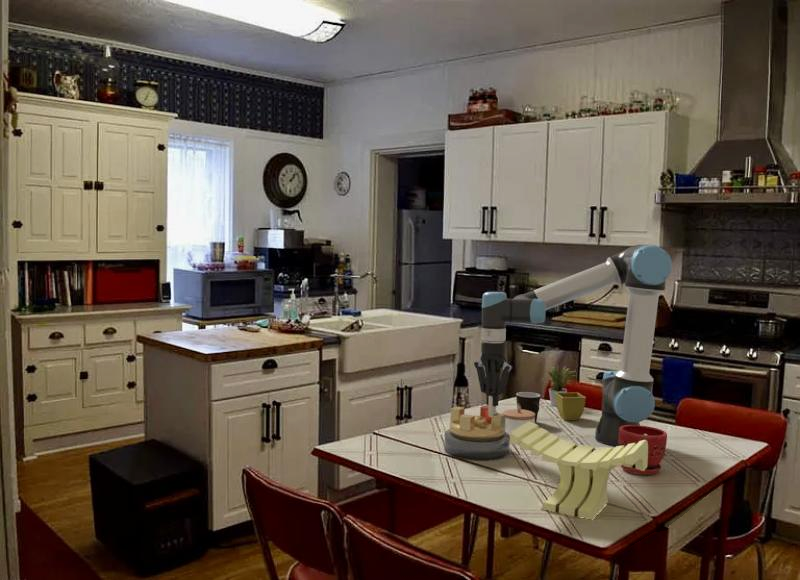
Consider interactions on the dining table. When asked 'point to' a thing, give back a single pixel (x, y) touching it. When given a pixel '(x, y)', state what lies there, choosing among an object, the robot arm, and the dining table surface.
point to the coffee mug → (528, 402)
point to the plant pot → (653, 438)
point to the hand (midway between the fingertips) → (492, 415)
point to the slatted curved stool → (579, 468)
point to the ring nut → (477, 425)
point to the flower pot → (570, 405)
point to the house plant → (558, 383)
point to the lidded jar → (517, 418)
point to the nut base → (476, 448)
